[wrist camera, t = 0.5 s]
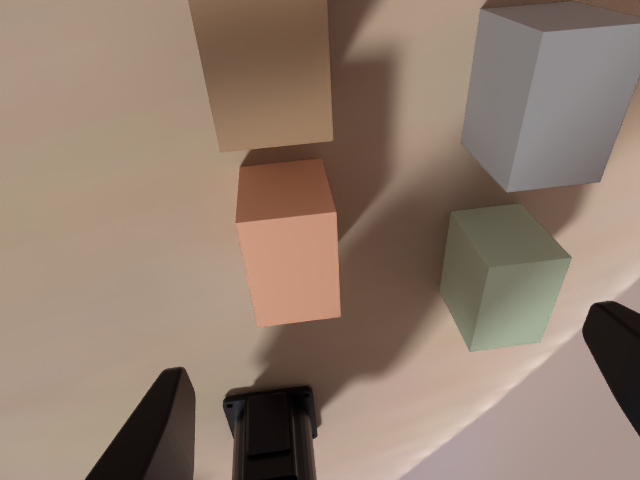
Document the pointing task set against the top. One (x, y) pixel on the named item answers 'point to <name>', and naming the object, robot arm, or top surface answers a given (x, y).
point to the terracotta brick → (289, 241)
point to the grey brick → (549, 92)
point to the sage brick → (501, 276)
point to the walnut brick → (266, 70)
